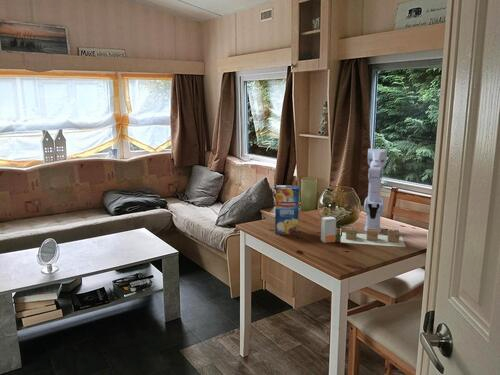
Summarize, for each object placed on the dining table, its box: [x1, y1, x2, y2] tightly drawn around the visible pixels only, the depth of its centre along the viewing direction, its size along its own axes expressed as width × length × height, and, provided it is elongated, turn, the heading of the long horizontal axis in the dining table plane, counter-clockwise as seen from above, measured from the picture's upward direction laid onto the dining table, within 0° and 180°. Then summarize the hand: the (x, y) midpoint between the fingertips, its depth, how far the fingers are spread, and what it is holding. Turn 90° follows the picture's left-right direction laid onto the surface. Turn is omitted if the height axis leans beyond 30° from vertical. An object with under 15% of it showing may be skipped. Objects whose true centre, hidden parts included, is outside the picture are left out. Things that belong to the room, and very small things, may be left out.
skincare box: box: [320, 216, 337, 244], centre depth 211 cm, size 6×4×12 cm
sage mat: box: [340, 232, 406, 248], centre depth 214 cm, size 16×30×1 cm, turn 77°
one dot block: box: [387, 228, 401, 243], centre depth 212 cm, size 5×5×5 cm
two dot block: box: [345, 226, 358, 240], centre depth 216 cm, size 5×5×5 cm
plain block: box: [366, 228, 379, 241], centre depth 214 cm, size 5×5×5 cm
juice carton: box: [274, 184, 300, 235], centre depth 225 cm, size 12×8×24 cm, turn 84°
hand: (372, 218), depth 215 cm, fingers closed
